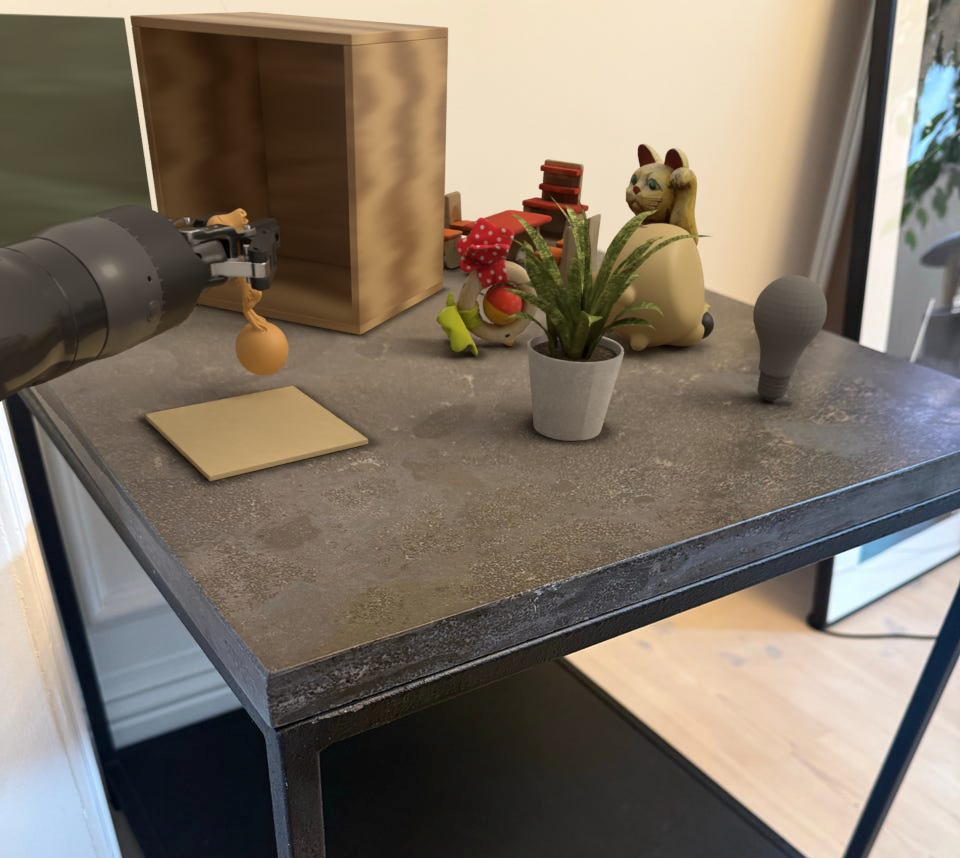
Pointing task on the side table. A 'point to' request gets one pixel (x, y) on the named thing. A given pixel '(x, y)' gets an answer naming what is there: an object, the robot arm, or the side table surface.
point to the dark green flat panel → (66, 122)
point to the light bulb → (786, 329)
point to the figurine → (255, 320)
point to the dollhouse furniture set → (533, 218)
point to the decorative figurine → (664, 189)
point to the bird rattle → (487, 268)
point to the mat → (253, 432)
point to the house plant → (578, 327)
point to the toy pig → (663, 291)
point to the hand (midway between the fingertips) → (249, 229)
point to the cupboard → (306, 152)
